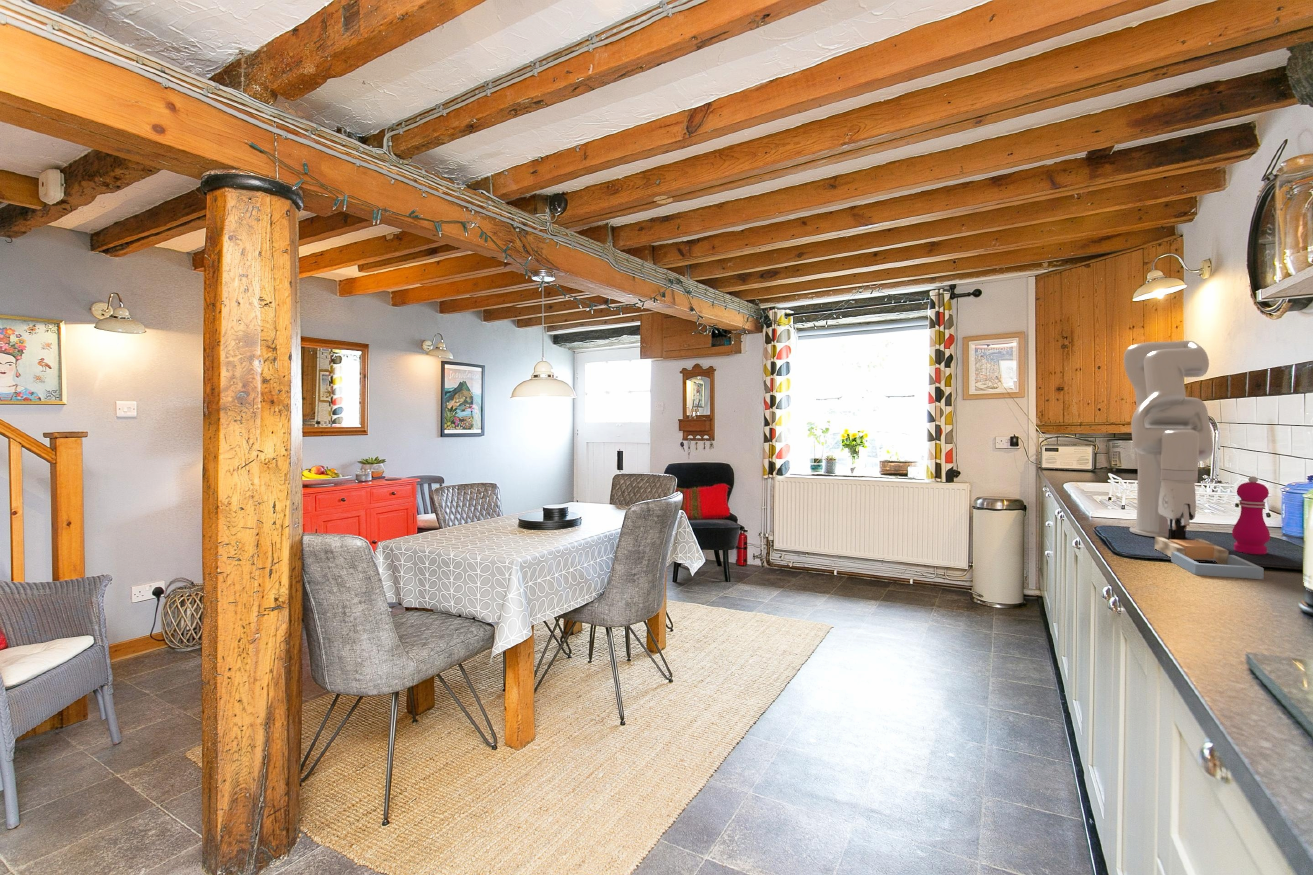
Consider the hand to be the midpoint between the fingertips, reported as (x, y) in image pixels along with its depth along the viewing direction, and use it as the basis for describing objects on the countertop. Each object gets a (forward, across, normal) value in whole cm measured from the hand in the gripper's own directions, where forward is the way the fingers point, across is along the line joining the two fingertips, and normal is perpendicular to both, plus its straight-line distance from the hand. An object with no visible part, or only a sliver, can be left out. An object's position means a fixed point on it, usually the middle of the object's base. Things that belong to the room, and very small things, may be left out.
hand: (1176, 543), depth 164 cm
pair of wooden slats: (+2, +7, 0) cm, 7 cm away
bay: (+2, +19, 0) cm, 19 cm away
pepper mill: (+2, -3, +17) cm, 17 cm away
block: (+2, +8, 0) cm, 8 cm away
